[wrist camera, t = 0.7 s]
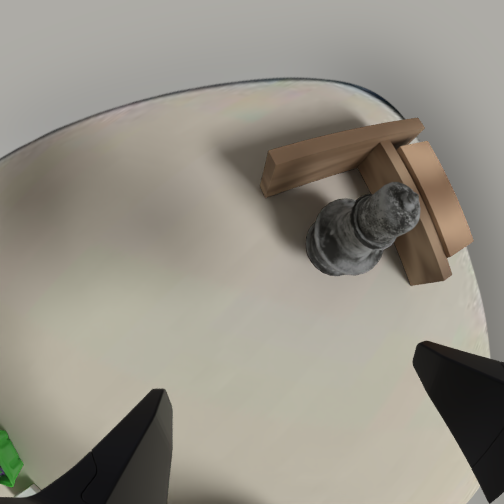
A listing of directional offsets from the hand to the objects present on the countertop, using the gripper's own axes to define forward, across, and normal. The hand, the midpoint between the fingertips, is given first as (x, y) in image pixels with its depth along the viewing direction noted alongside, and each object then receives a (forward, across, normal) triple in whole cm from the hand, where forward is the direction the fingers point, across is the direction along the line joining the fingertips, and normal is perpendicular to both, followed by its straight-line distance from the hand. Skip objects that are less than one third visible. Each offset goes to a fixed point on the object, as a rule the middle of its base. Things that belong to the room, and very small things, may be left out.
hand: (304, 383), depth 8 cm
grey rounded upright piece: (+15, -7, 0) cm, 17 cm away
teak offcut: (+13, -16, -4) cm, 21 cm away
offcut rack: (+15, -11, -2) cm, 19 cm away
